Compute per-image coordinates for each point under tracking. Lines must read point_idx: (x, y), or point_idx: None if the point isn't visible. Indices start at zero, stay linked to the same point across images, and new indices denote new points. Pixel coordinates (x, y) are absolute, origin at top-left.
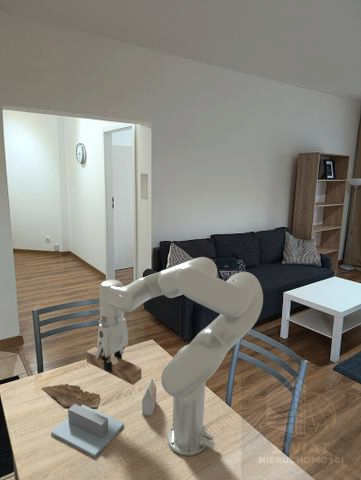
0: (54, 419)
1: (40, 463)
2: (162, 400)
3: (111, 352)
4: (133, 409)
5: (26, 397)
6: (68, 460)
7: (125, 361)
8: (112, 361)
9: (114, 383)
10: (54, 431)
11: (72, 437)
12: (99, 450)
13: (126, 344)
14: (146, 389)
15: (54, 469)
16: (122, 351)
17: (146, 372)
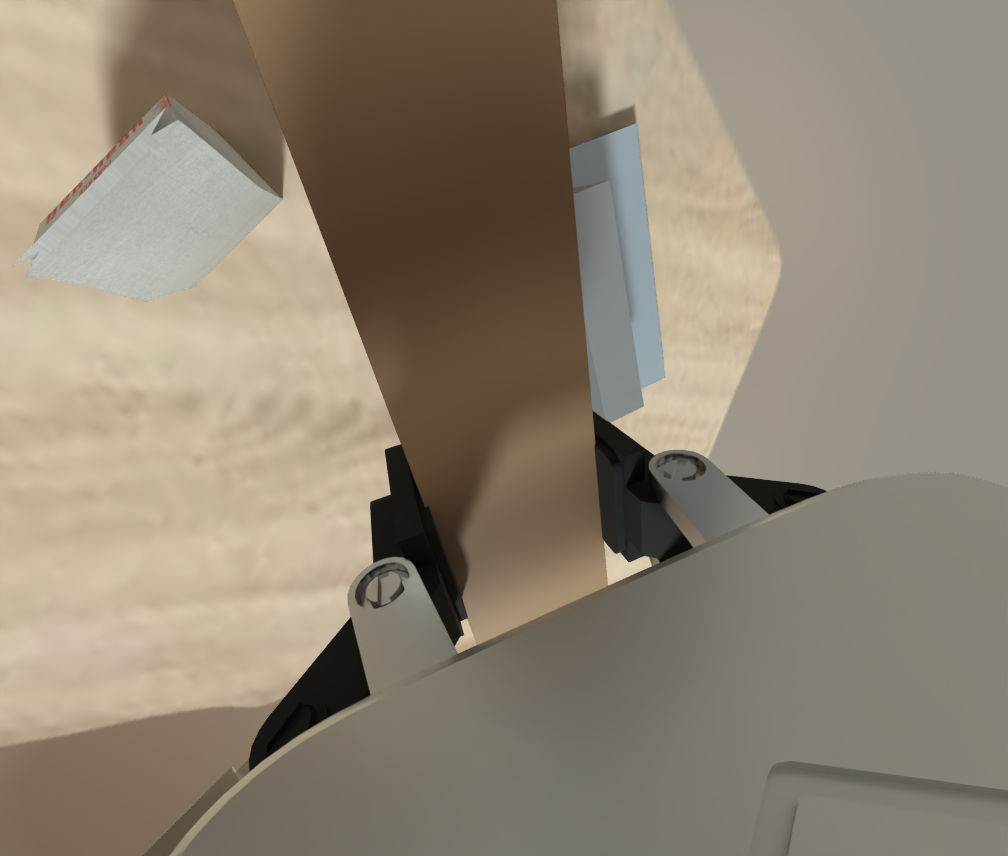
0: None
1: (740, 271)
2: (54, 206)
3: (932, 526)
4: (314, 277)
5: (618, 570)
6: (689, 207)
7: (403, 379)
8: (556, 486)
9: (317, 516)
10: (657, 371)
11: (637, 297)
12: (607, 134)
13: (259, 812)
14: (168, 230)
15: (734, 207)
16: (365, 612)
17: (65, 524)
